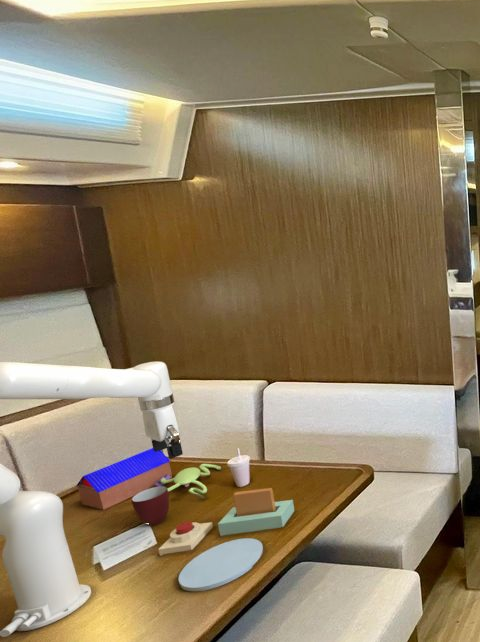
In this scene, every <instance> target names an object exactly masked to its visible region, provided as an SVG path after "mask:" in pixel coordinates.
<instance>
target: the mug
mask: <svg viewBox="0 0 480 642" xmlns="http://www.w3.org/2000/svg"><path fill="white" fill-rule="evenodd" d="M167 488H168V487H167V486H165V485H164V486H159V487H158V486H153V487H151V488H149V489H147V490H144V491H142V492H140V493H138V494H136V495H134V496H132V497H131V504H132V508H133V510H134V512H135V513H136V515H137V517H138V519H139V520H140V521H141V522H142V523H143V524H145V523H149V527H153V526H156V525H159V524H162V523H163V522H164V521H165V520H166V518H167V516H168V513H169V510H170V493H169V492H168V489H167Z"/></svg>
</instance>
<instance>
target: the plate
mask: <svg viewBox="0 0 480 642" xmlns="http://www.w3.org/2000/svg"><path fill="white" fill-rule="evenodd" d="M263 553H264V546H263V543H262V542H261V541H260V540H259V539H256V538H249V537H247V538H246V537H245V538H244V537H243V538H236V539H232V540H230V541H229V540H228V541H225V542H223V543H221V544H217V545H215V546H213V547H211V548H208V549H207V550H205V551H203V552H201V553H199V554H198V555H197V556H195V557H194V558H193V559H192V560H190V561H188V563H187V564H186V565H185V566H184V567H183V568H182V569H181V571H180V572H179V575H178V585H179V587H180V588H181V589H182V590H184V591H187V592H203V591H208V590H212V589H216V588H218V587H221V586H224V585H227V584H228V583H230V582H232V581H233V582H234V581H235V580H237V579H238V578H240V577H242V576H243V575H244V574H246V573H248V572H249V571H250V570H252V569H253V568H254V565H255V564H256V563H257V562H258V561H259V559H261V556H262V555H263Z"/></svg>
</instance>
